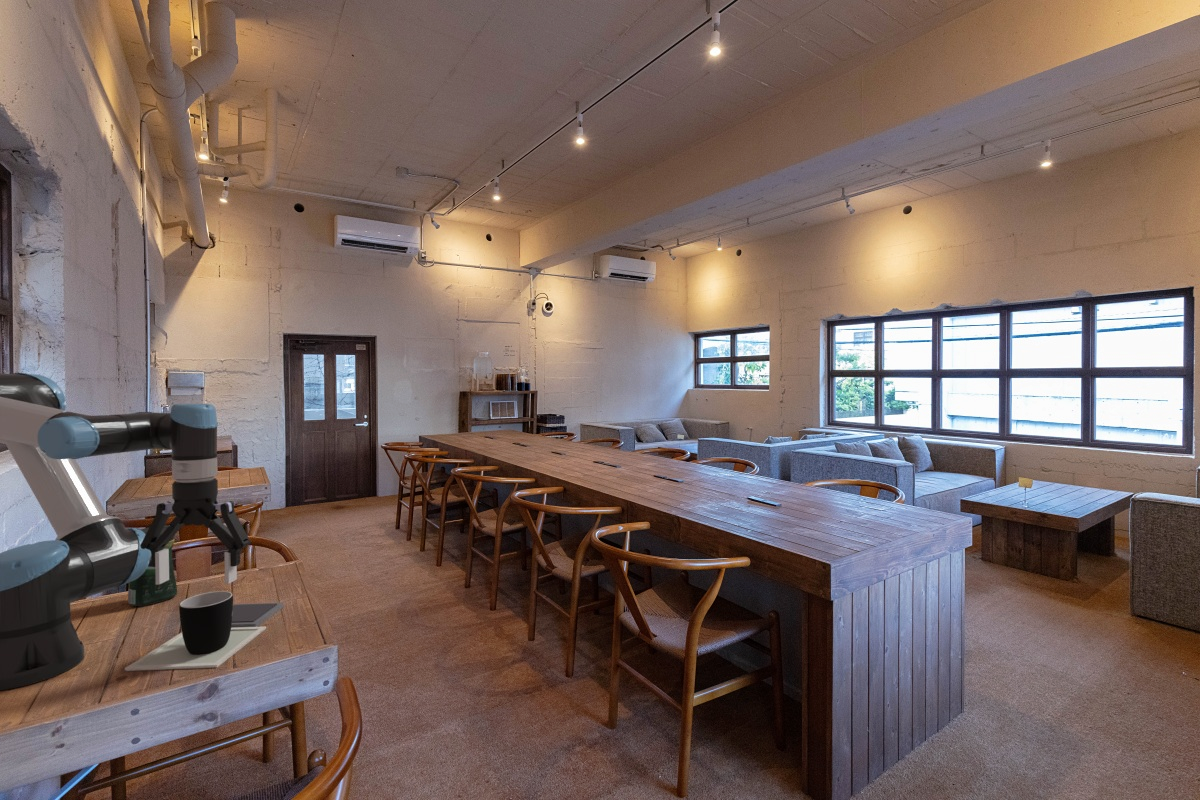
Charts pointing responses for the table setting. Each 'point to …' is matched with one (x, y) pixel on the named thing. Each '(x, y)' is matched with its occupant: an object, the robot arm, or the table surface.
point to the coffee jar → (153, 582)
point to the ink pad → (253, 613)
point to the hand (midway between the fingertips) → (196, 582)
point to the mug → (206, 621)
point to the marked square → (179, 657)
